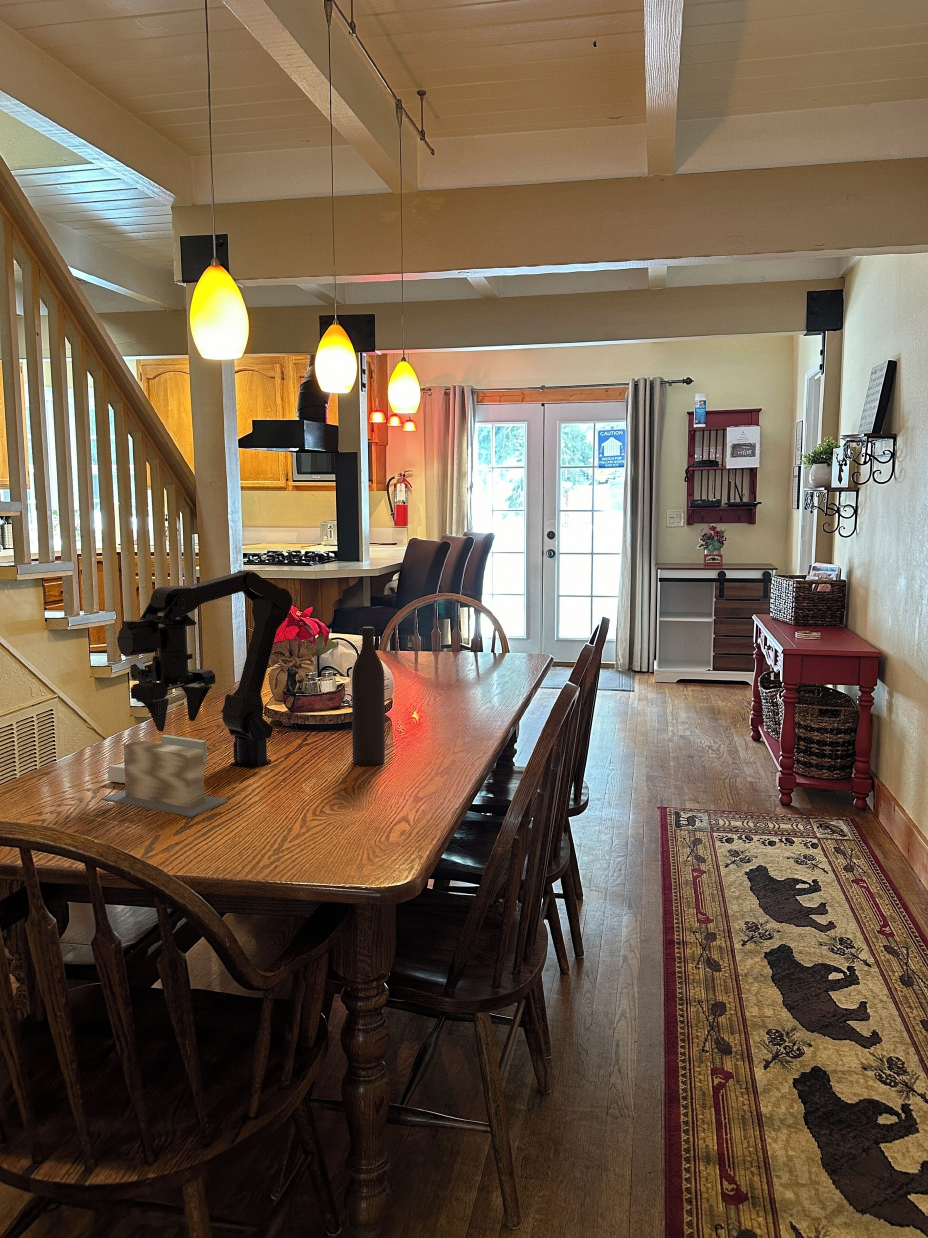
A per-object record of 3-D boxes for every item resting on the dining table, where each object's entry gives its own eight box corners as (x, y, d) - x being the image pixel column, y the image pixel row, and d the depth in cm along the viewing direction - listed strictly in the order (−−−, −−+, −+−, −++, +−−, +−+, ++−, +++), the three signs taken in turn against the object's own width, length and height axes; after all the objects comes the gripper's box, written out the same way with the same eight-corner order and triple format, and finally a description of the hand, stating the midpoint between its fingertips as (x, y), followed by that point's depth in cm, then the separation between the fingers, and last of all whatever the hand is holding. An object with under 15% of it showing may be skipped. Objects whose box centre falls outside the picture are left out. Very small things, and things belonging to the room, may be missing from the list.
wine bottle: (389, 759, 206) (388, 626, 203) (378, 767, 200) (377, 629, 196) (359, 757, 208) (358, 624, 205) (347, 765, 201) (346, 628, 198)
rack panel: (207, 763, 202) (206, 740, 202) (203, 764, 201) (202, 742, 201) (165, 756, 207) (164, 734, 207) (161, 757, 206) (160, 736, 206)
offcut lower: (168, 785, 186) (170, 770, 186) (155, 787, 182) (156, 772, 183) (121, 778, 191) (122, 764, 191) (107, 780, 187) (108, 765, 187)
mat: (228, 801, 176) (228, 799, 175) (191, 817, 167) (191, 815, 167) (141, 786, 185) (141, 784, 185) (102, 800, 176) (102, 798, 176)
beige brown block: (204, 801, 174) (203, 749, 173) (189, 807, 171) (188, 754, 169) (141, 790, 181) (139, 740, 180) (125, 795, 178) (123, 744, 176)
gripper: (173, 640, 197) (177, 712, 199) (106, 654, 180) (111, 733, 182) (215, 643, 192) (218, 717, 194) (151, 658, 175) (155, 738, 177)
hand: (176, 726), depth 187 cm, fingers open, 9 cm apart
